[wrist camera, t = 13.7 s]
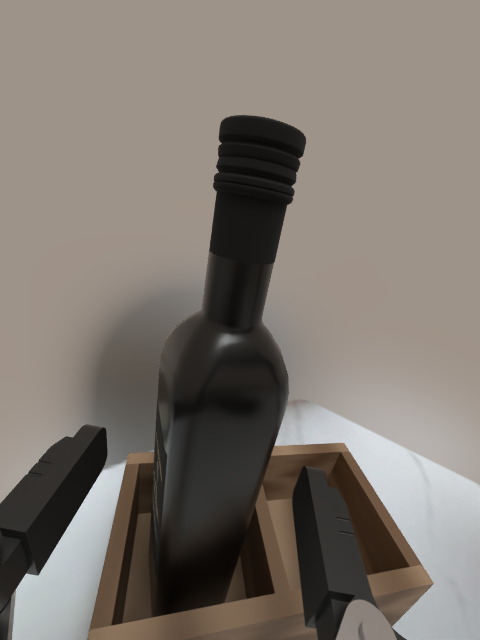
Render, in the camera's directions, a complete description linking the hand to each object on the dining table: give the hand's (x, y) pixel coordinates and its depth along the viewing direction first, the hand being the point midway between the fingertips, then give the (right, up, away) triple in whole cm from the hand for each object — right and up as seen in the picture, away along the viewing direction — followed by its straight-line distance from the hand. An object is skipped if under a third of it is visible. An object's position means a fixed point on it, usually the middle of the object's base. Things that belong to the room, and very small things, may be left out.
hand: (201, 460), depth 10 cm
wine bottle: (-3, -15, +11) cm, 19 cm away
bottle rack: (+2, -16, +12) cm, 20 cm away
